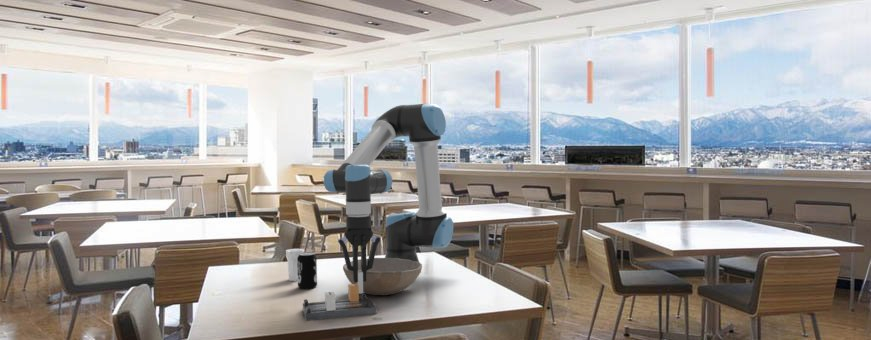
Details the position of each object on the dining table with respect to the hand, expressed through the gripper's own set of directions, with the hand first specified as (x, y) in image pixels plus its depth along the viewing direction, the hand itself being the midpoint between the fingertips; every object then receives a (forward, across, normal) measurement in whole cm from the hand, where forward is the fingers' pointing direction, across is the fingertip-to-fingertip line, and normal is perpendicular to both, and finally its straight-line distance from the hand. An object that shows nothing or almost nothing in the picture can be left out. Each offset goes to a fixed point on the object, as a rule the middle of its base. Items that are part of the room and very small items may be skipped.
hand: (360, 292), depth 182 cm
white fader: (+2, +10, +8) cm, 13 cm away
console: (+4, +7, +4) cm, 9 cm away
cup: (+5, +16, -47) cm, 50 cm away
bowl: (+5, -10, -14) cm, 18 cm away
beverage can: (+5, +13, -32) cm, 35 cm away
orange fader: (+2, +2, 0) cm, 3 cm away
